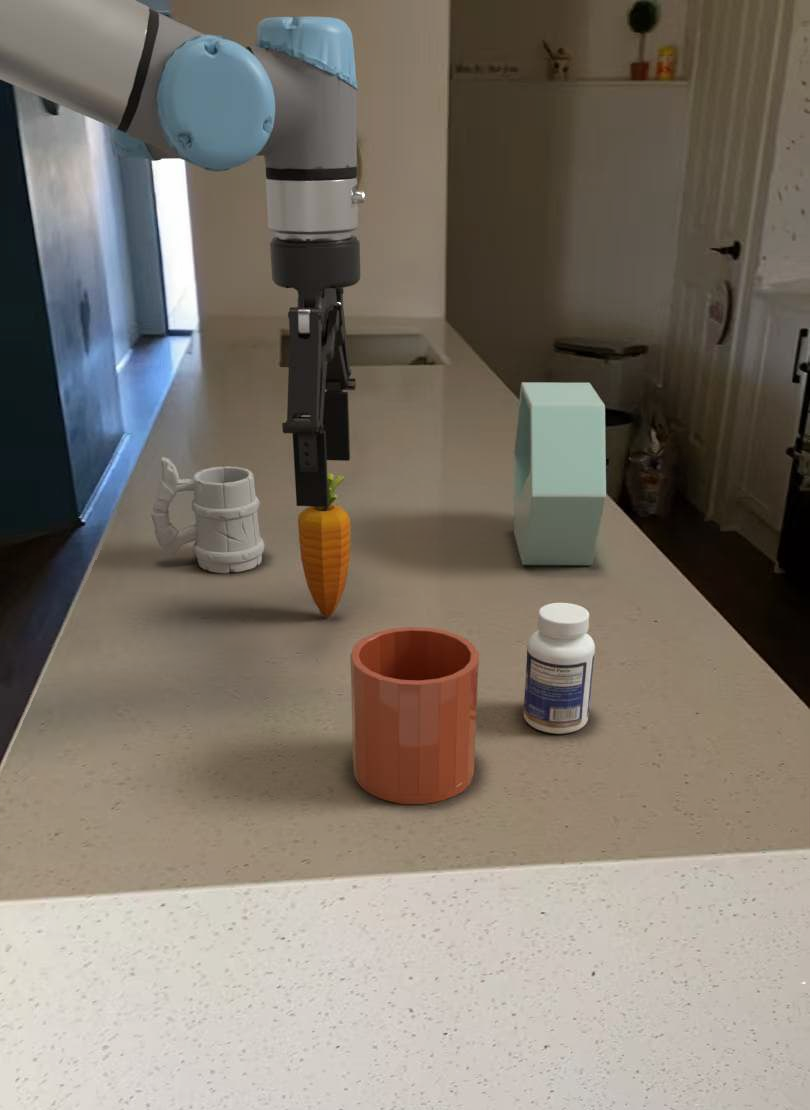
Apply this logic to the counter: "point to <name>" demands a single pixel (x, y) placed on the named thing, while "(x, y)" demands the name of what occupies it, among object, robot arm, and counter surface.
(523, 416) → the planter
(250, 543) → the mug
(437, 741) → the cup
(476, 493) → the counter surface
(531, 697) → the pill bottle
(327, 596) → the carrot
